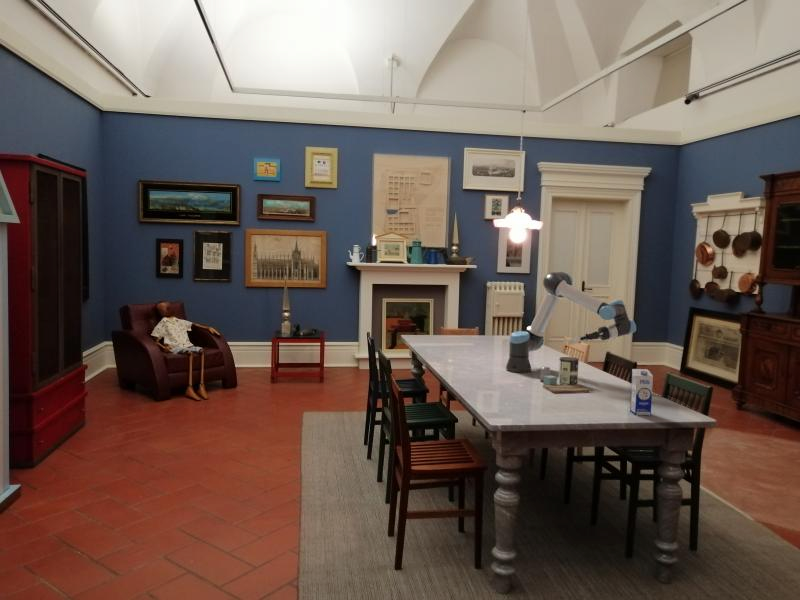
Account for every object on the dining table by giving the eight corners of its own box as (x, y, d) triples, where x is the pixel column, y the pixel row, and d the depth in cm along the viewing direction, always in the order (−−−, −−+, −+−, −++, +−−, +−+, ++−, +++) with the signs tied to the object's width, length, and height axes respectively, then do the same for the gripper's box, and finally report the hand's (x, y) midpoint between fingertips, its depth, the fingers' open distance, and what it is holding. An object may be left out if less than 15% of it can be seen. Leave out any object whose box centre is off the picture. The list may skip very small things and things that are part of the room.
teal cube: (543, 385, 314) (543, 376, 314) (550, 384, 316) (551, 375, 316) (549, 387, 310) (549, 377, 309) (556, 386, 312) (557, 377, 311)
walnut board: (542, 387, 308) (543, 385, 308) (577, 386, 312) (577, 384, 312) (553, 393, 295) (553, 391, 295) (589, 392, 299) (589, 390, 299)
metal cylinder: (538, 380, 324) (539, 366, 323) (546, 380, 325) (547, 366, 324) (542, 382, 319) (543, 368, 318) (550, 382, 320) (551, 368, 319)
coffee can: (576, 382, 322) (577, 357, 321) (578, 386, 312) (579, 360, 311) (557, 381, 324) (558, 356, 323) (559, 385, 314) (560, 359, 313)
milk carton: (645, 411, 264) (647, 368, 262) (651, 416, 257) (653, 372, 255) (629, 411, 264) (631, 368, 262) (635, 415, 257) (637, 371, 255)
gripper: (617, 336, 307) (579, 346, 307) (602, 340, 332) (566, 349, 331) (613, 323, 308) (575, 332, 308) (598, 328, 333) (562, 337, 332)
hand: (570, 341), depth 319 cm, fingers open, 13 cm apart
